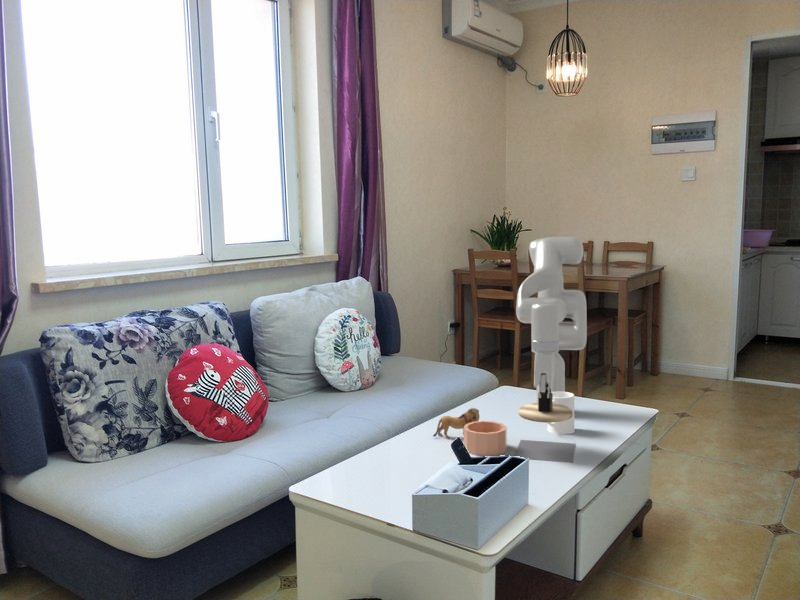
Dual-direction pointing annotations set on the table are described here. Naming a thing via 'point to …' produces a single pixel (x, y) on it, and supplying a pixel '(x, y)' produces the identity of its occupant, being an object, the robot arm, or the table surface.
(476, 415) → the lion figurine
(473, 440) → the bowl
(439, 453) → the table surface
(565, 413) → the lid
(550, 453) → the mat
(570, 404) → the mug
